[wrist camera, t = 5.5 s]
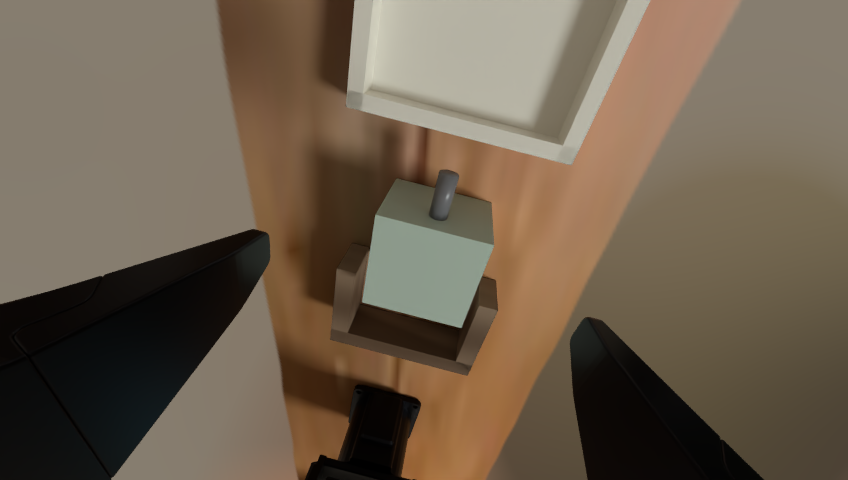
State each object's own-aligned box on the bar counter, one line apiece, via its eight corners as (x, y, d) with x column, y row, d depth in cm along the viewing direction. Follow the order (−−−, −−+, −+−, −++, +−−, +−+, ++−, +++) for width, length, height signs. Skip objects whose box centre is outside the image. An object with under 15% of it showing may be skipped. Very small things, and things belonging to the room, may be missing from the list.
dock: (468, 343, 27) (467, 375, 25) (344, 311, 27) (330, 339, 25) (495, 280, 24) (497, 310, 21) (352, 243, 24) (336, 268, 21)
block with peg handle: (464, 276, 24) (461, 328, 20) (382, 254, 24) (362, 302, 20) (504, 165, 19) (511, 202, 15) (403, 139, 19) (382, 169, 15)
